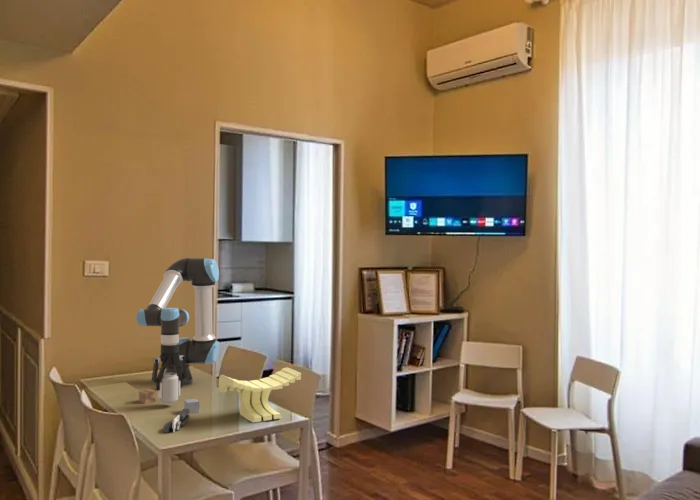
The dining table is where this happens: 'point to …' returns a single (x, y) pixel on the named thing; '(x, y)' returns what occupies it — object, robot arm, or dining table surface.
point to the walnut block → (147, 396)
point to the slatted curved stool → (258, 393)
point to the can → (169, 387)
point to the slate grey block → (192, 405)
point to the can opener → (177, 421)
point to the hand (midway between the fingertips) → (169, 396)
